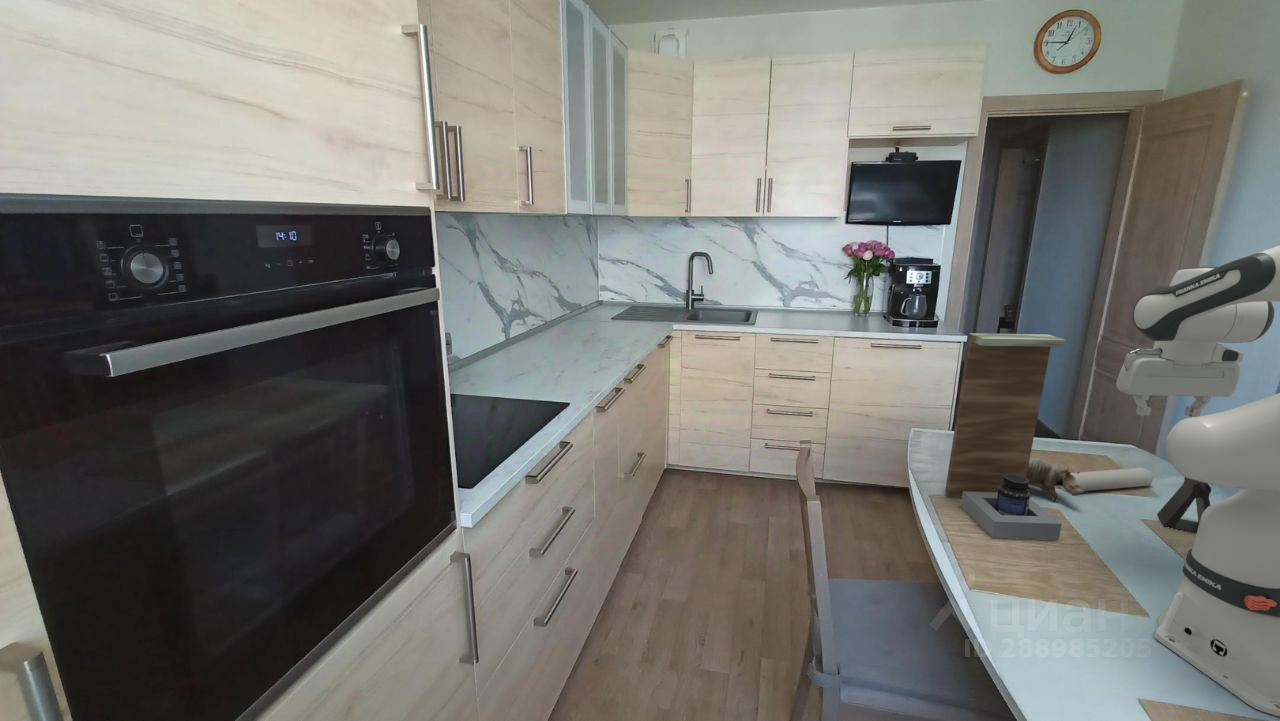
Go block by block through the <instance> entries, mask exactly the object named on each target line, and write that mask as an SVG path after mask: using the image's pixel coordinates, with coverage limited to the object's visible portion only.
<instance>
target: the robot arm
mask: <svg viewBox="0 0 1280 721" xmlns="http://www.w3.org/2000/svg"><path fill="white" fill-rule="evenodd" d="M1272 302H1280V245H1279V244H1278V245H1277V246H1274V247H1271V248H1268V249H1266V250H1261V251H1260V252H1257V253H1253V254H1250V255H1247V256H1245V257H1244V256H1243V257H1241V258H1238V259H1236V260H1232V261H1230V262H1227V263H1225V264H1222V265H1220V266H1192V267H1191V266H1190V267H1184V268H1182V269H1180V270H1177V271H1176V273H1175V274H1174V276H1173V277H1172V279H1171V282H1170V284H1169V285H1167V286H1165V285H1157V286H1155V287H1153V288H1152V289H1149V290H1148V291H1147V292H1146V293H1145V294H1144V293H1143V295H1142V296H1141V297H1140V298H1139V299H1138V300H1137V301H1136V303H1135V304H1134V307H1133V312H1132V321H1133V325H1134V326H1135V327H1136V329H1137V330H1138V331H1139V332H1140V333H1141V334H1142V335H1143V336H1144V337H1146V338H1147V339H1148V340H1149V341H1151V342H1154V343H1153V348H1135V349H1134V350H1131V351H1130V352H1129V353H1127V354H1126V355H1125V357H1124V362H1123V364H1122V365H1121V368H1120V370H1119V373H1118V376H1117V379H1116V383H1115V386H1116V388H1117V390H1118V391H1119V392H1121V393H1124V394H1127V395H1129V396H1131V395H1132V397H1133V400H1134V402H1135V404H1136V409H1135V414H1136V415H1138V416H1141V417H1144V416H1145V417H1146V416H1147V417H1149V416H1151V413H1152V407H1150V406H1148V404H1147V401H1149V399H1150V396H1166V397H1167V396H1168V397H1169V396H1173V397H1193V399H1195V400H1193V402H1192V404H1191V405H1190V406H1189V405H1188V406H1186V407H1185V408H1184V409H1185V411H1184V415H1185V416H1186V417H1187V418H1184V419H1181V420H1180V421H1178V422H1176V424H1175V425H1174V426H1172V428H1171V429H1170V431H1169V433H1168V434H1167V437H1166V440H1165V452H1166V455H1167V459H1168V461H1169V463H1170V464H1171V465H1172V467H1173V468H1174V470H1175V471H1176V472H1178V473H1179V474H1180V475H1181V476H1183V478H1185V477H1186V478H1189V479H1193V480H1197V481H1199V482H1204V483H1207V484H1208V485H1214V486H1217V487H1221V488H1232V489H1240V490H1239V491H1237V492H1236V493H1235V494H1233V495H1231V496H1229V497H1227V498H1225V499H1221V500H1219V501H1217V502H1214V503H1212V504H1210V506H1209V507H1208V508H1206V509H1205V511H1204V512H1203V514H1202V516H1201V519H1200V523H1199V526H1198V530H1197V534H1196V535H1195V537H1194V542H1193V546H1192V548H1190V549H1189V550H1188V551H1187V553H1186V556H1185V558H1184V559H1183V566H1182V573H1183V576H1182V579H1181V581H1180V583H1179V585H1178V587H1177V590H1176V591H1175V593H1174V594H1173V597H1172V599H1171V601H1170V603H1169V604H1168V606H1167V607H1166V609H1165V610H1164V611H1163V613H1161V614H1160V616H1159V617H1158V620H1157V623H1158V627H1157V628H1156V629H1155V631H1154V634H1153V636H1154V638H1155V640H1157V641H1159V642H1160V643H1161V644H1163V645H1164V646H1165V647H1167V648H1168V649H1170V650H1171V651H1173V652H1174V653H1175V654H1177V655H1178V656H1179V657H1181V658H1182V659H1183V660H1185V661H1186V662H1188V663H1189V664H1191V665H1192V666H1193V667H1195V668H1196V669H1198V670H1199V671H1201V672H1202V673H1203V674H1205V675H1206V676H1207V677H1209V678H1211V680H1213V681H1215V682H1216V683H1217V684H1219V685H1220V686H1222V687H1223V688H1224V689H1226V690H1227V691H1229V692H1230V693H1231V694H1233V695H1235V697H1237V698H1238V699H1240V700H1241V701H1243V702H1244V703H1246V704H1247V705H1249V706H1250V707H1252V708H1254V709H1256V710H1258V711H1261V712H1263V713H1266V714H1269V715H1272V716H1275V717H1276V716H1277V717H1280V392H1278V393H1275V394H1273V395H1272V394H1271V395H1269V396H1267V397H1264V398H1261V399H1260V398H1259V399H1258V400H1254V401H1251V402H1248V403H1245V404H1242V405H1239V406H1236V407H1233V408H1230V409H1227V410H1224V411H1219V412H1215V413H1211V414H1204V415H1201V414H1202V413H1201V412H1202V410H1203V409H1204V408H1205V407H1206V406H1207V405H1209V403H1210V402H1211V399H1212V397H1215V398H1217V397H1218V398H1222V397H1223V398H1229V397H1230V396H1232V395H1233V394H1235V391H1236V390H1237V388H1238V383H1239V379H1240V375H1241V367H1240V365H1239V363H1241V362H1242V361H1243V359H1244V356H1245V355H1244V352H1242V351H1240V350H1238V349H1234V348H1232V347H1228V346H1225V345H1223V344H1222V343H1225V344H1243V343H1251V342H1254V341H1257V340H1258V339H1260V338H1261V337H1263V336H1264V335H1265V334H1266V333H1267V332H1268V331H1269V329H1270V328H1271V326H1272V324H1273V322H1274V319H1275V308H1274V304H1273V303H1272ZM1220 343H1221V344H1220Z"/></svg>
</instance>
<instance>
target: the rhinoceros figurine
mask: <svg viewBox="0 0 1280 721" xmlns="http://www.w3.org/2000/svg"><path fill="white" fill-rule="evenodd" d="M1069 468H1070V467H1069V466H1067V465H1066V464H1055V463H1051V462H1050V461H1049V462H1048V461H1045V460H1043V459H1041V458H1038V457H1031V456H1030V460H1029V465H1028V470H1027V476H1026V478H1027V479H1028V480H1029V484H1028V487H1027V488H1026V489H1028V490H1029V489H1030V488H1031V487H1030V486H1033V487H1035V488H1037V489H1040V490H1041V491H1042V492H1043V493H1047V494H1048V495H1050V496H1051V497H1052V501H1051V503H1056V504H1058V502H1059V501H1057V500H1058V498H1059V496H1058V493H1057V492H1056V488H1055V487H1057V486H1059V487H1060V486H1064V487H1065V490H1066V491H1067V492H1066V491H1065V492H1066V493H1068V492H1069V493H1068V494H1071V496H1076V495H1078V494H1083V493H1085V492H1086V491H1085V490H1080V486H1079V484H1077V483H1076V481H1075V479H1074V477H1073V475H1071V474H1070V473H1071V471H1070V470H1069ZM1080 472H1081V470H1079V471H1077V472H1076V473H1077V474H1078V473H1080Z"/></svg>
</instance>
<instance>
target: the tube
mask: <svg viewBox="0 0 1280 721" xmlns="http://www.w3.org/2000/svg"><path fill="white" fill-rule="evenodd" d="M1070 474H1071V475H1073V477H1074V479H1075V481H1076V483H1077V484H1079V486H1080V490H1085V491H1084V492H1092V491H1093V492H1094V491H1103V490H1105V491H1106V490H1114V489H1125V488H1136V487H1146V486H1150V485H1152V483H1153V480H1154V478H1155V477H1154V475H1153V474H1152V472H1151V471H1150V470H1148V469H1146V468H1144V467H1134V468H1133V467H1131V468H1119V469H1107V470H1105V469H1104V470H1096V471H1093V470H1092V471H1083V472H1082V471H1080V473H1078V474H1077V472H1070ZM1059 487H1060V489H1061V490H1062V491H1065V492H1066V493H1068V494H1070V493H1069V492H1067V491H1066V490H1065V487H1064V486H1059Z"/></svg>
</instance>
